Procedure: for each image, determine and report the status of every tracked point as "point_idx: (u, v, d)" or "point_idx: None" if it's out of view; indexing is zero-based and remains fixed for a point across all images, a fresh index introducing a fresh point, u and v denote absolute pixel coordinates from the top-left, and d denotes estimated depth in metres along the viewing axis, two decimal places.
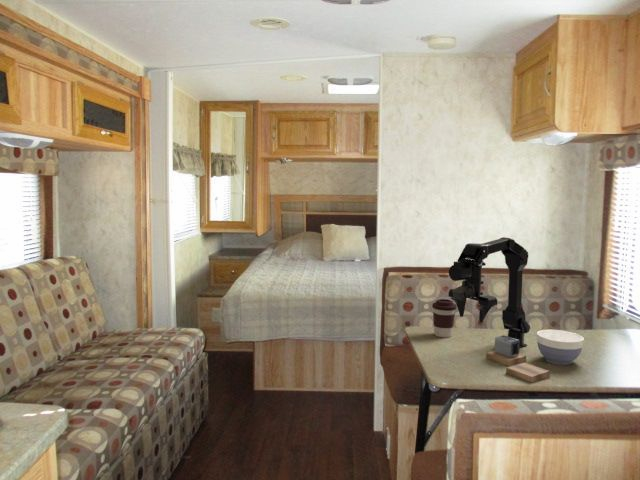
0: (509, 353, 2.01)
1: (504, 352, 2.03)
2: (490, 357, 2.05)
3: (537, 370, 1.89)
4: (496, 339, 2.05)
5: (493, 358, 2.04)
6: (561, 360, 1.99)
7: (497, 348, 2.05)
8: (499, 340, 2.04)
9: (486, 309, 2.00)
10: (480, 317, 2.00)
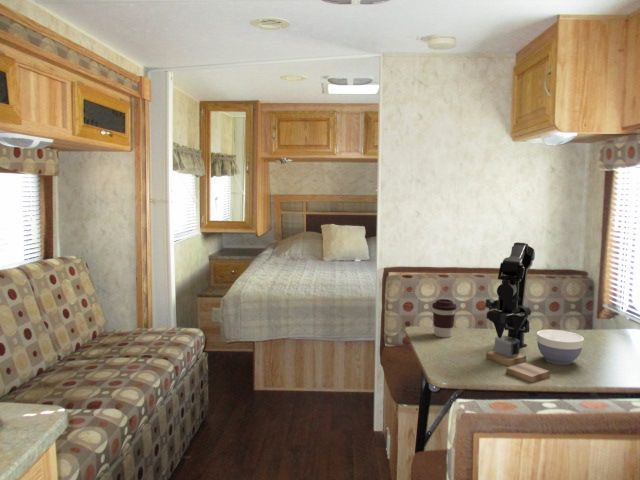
0: (509, 353, 2.01)
1: (504, 352, 2.03)
2: (490, 357, 2.05)
3: (537, 370, 1.89)
4: (496, 339, 2.05)
5: (493, 358, 2.04)
6: (561, 360, 1.99)
7: (497, 348, 2.05)
8: (499, 340, 2.04)
9: (500, 325, 1.99)
10: None
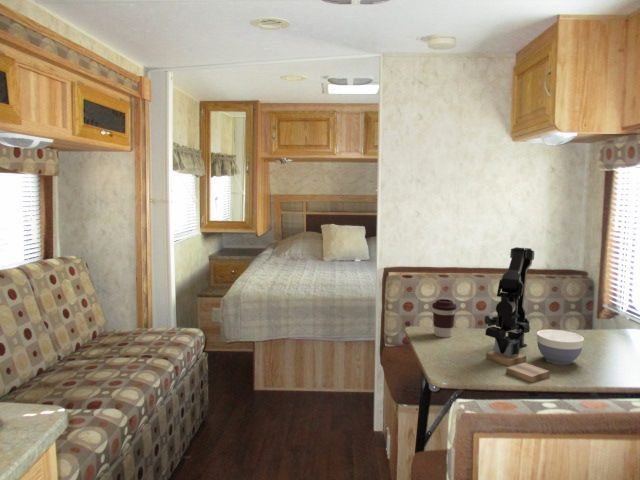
0: (509, 353, 2.01)
1: (504, 352, 2.03)
2: (490, 357, 2.05)
3: (537, 370, 1.89)
4: None
5: (493, 358, 2.04)
6: (561, 360, 1.99)
7: (497, 348, 2.05)
8: None
9: (502, 341, 2.01)
10: None
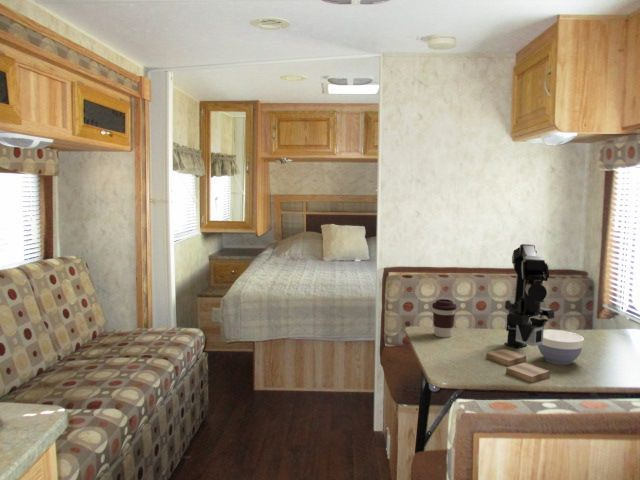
0: (532, 340, 1.85)
1: (527, 340, 1.86)
2: (490, 357, 2.05)
3: (537, 370, 1.89)
4: None
5: (493, 358, 2.04)
6: (561, 360, 1.99)
7: (519, 335, 1.89)
8: None
9: (525, 328, 1.85)
10: None
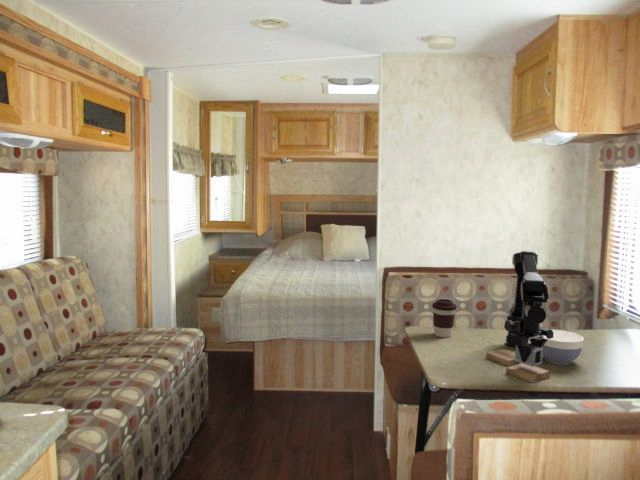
0: (532, 361, 1.85)
1: (526, 360, 1.87)
2: (490, 357, 2.05)
3: (537, 370, 1.89)
4: None
5: (493, 358, 2.04)
6: (561, 360, 1.99)
7: (518, 356, 1.90)
8: None
9: (524, 348, 1.86)
10: None
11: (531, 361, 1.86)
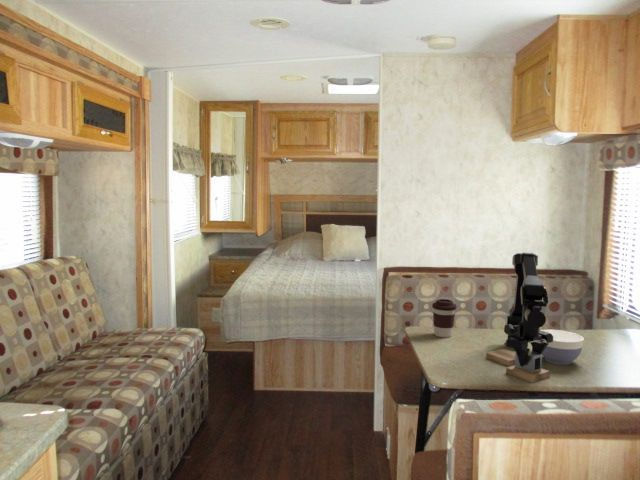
0: (531, 368, 1.86)
1: (526, 367, 1.87)
2: (490, 357, 2.05)
3: None
4: None
5: (493, 358, 2.04)
6: (561, 360, 1.99)
7: (518, 362, 1.90)
8: None
9: (522, 353, 1.85)
10: None
11: (531, 368, 1.86)
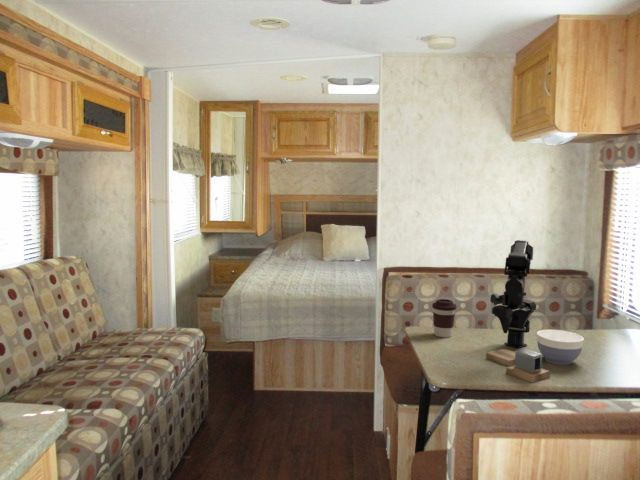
0: (531, 368, 1.86)
1: (526, 367, 1.87)
2: (490, 357, 2.05)
3: None
4: (517, 353, 1.90)
5: (493, 358, 2.04)
6: (561, 360, 1.99)
7: (518, 362, 1.90)
8: (520, 354, 1.89)
9: (505, 320, 1.97)
10: None
11: (531, 368, 1.86)
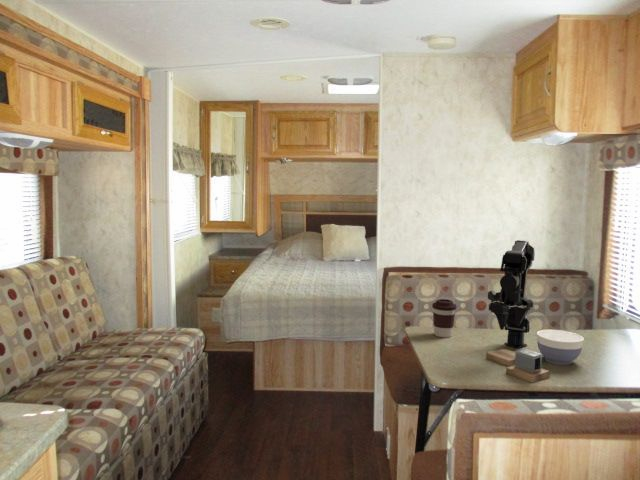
0: (531, 368, 1.86)
1: (526, 367, 1.87)
2: (490, 357, 2.05)
3: None
4: (517, 353, 1.90)
5: (493, 358, 2.04)
6: (561, 360, 1.99)
7: (518, 362, 1.90)
8: (520, 354, 1.89)
9: (502, 317, 2.00)
10: None
11: (531, 368, 1.86)
